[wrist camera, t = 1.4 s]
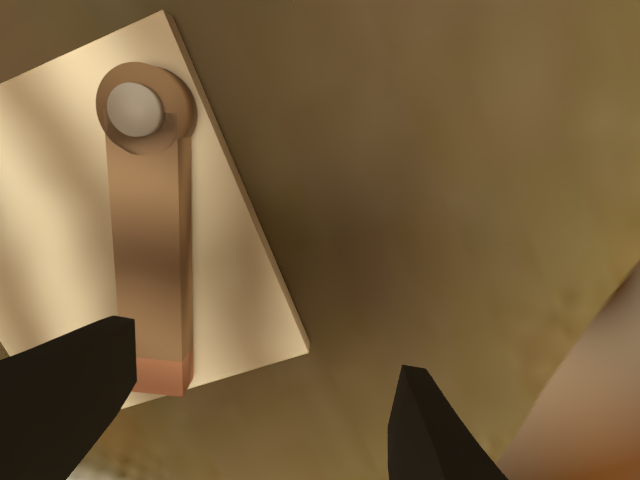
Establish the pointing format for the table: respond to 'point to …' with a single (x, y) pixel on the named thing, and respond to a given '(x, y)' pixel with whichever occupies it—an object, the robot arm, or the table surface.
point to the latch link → (152, 216)
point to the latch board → (95, 216)
